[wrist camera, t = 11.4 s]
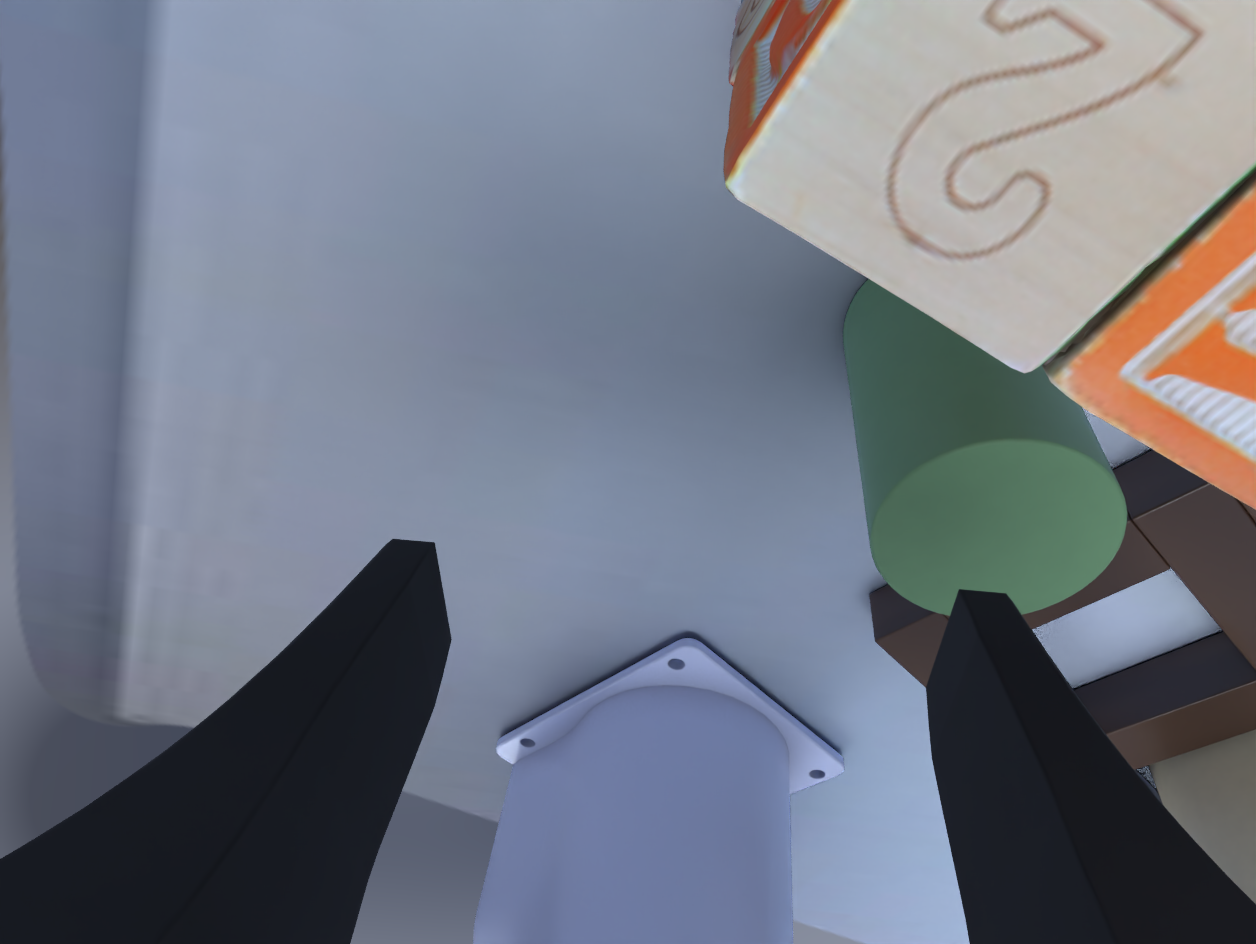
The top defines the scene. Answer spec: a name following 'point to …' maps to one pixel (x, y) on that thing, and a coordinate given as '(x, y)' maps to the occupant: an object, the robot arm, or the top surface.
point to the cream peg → (1216, 803)
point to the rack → (1153, 542)
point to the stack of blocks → (1032, 188)
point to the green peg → (972, 466)
